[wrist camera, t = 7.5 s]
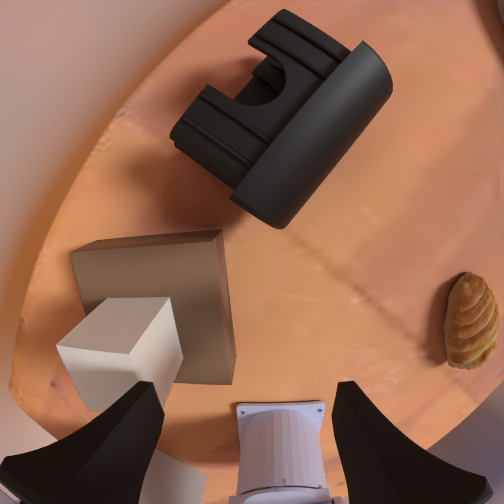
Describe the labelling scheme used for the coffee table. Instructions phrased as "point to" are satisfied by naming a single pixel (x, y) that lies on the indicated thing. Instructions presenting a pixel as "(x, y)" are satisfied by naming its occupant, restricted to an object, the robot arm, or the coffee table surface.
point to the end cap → (285, 117)
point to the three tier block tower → (170, 482)
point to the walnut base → (170, 292)
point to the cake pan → (501, 9)
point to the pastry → (470, 323)
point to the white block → (122, 350)
